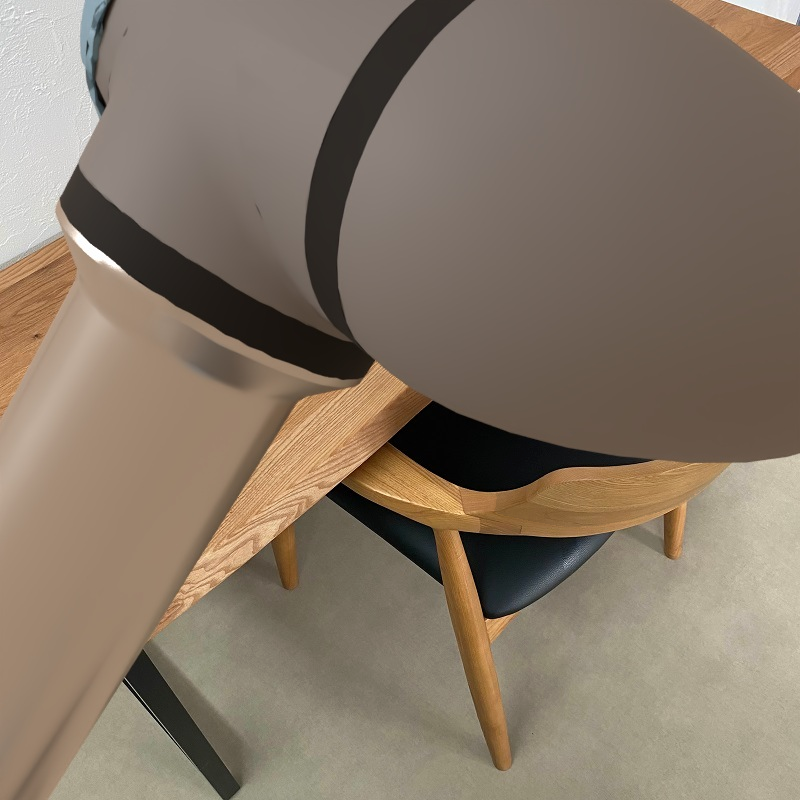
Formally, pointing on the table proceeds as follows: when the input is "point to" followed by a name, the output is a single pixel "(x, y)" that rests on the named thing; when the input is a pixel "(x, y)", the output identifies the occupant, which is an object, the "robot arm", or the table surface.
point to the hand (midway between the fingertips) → (359, 238)
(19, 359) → the table surface
